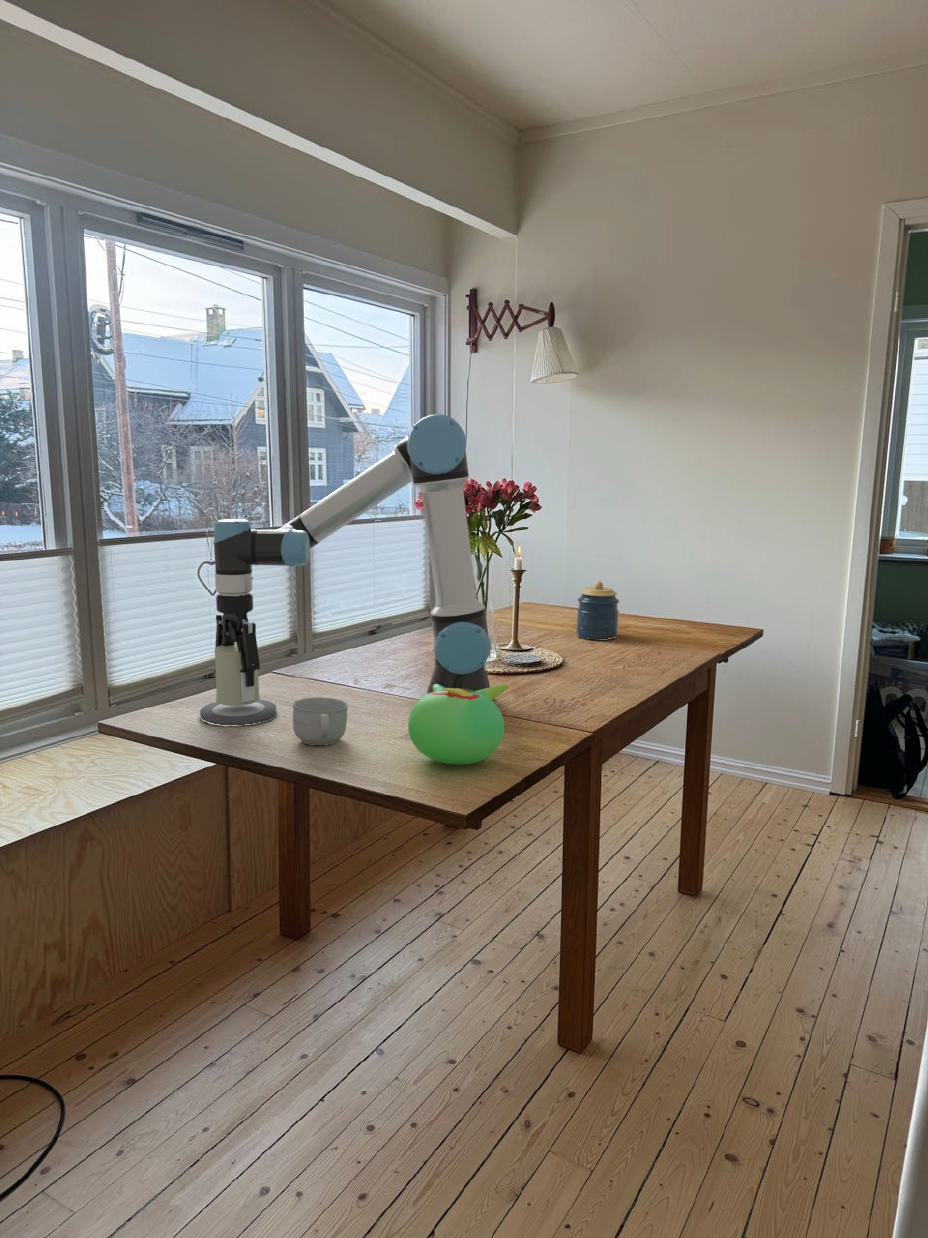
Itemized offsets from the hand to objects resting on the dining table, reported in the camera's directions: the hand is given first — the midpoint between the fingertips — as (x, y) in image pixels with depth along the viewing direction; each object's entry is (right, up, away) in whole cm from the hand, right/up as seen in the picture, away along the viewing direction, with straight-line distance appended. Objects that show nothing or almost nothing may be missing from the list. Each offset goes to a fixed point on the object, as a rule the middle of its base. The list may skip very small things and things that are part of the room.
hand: (238, 695), depth 189 cm
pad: (0, -4, +1) cm, 4 cm away
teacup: (+21, -8, -17) cm, 28 cm away
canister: (+91, +11, +87) cm, 126 cm away
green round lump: (+48, -10, -25) cm, 55 cm away
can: (0, -1, 0) cm, 1 cm away
